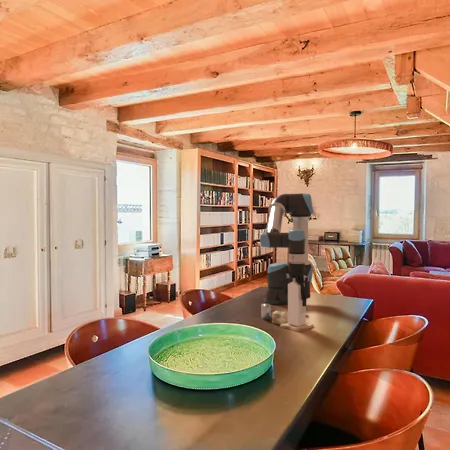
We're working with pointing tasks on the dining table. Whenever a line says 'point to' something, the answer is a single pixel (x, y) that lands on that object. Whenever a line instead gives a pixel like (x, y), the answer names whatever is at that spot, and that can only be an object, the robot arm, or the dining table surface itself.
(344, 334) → the dining table surface
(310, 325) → the plate
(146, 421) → the dining table surface
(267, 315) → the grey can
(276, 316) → the beech cube
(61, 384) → the dining table surface
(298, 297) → the milk
